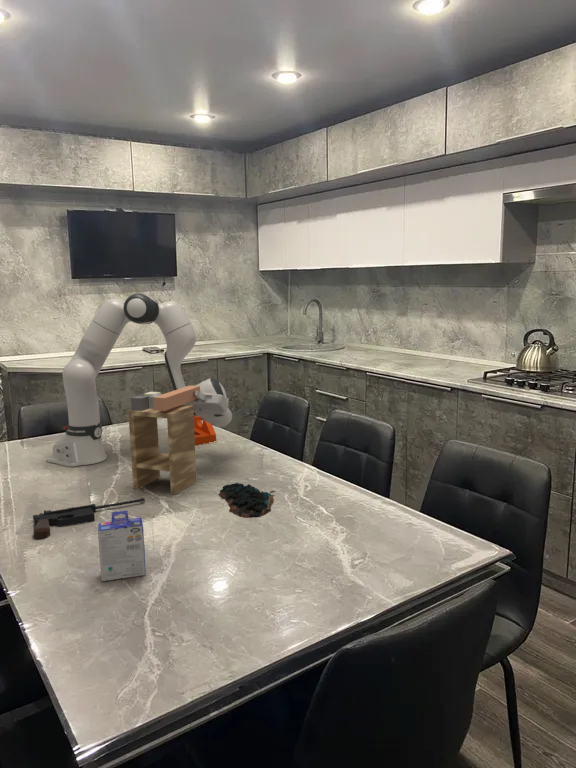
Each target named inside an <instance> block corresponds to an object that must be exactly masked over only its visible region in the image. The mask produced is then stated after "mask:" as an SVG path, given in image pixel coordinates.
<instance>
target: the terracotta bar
mask: <svg viewBox="0 0 576 768" xmlns="http://www.w3.org/2000/svg"><path fill="white" fill-rule="evenodd" d="M185 386H186V385H185ZM194 391H198V392H200V386H195V385H187V386H186V387H183V388H180V389H177V390H174V389H173V390H172V391H168V392H166V393H165V392H164V393H161V395H159V396H156V397H153V399H154V410H160V411H166V410H169V409H172V408H174V407H177V406H180V405H182V404H185V403H188V402H190V401H193V400H195V399H198V398H197V397H194V396H193V392H194Z"/></svg>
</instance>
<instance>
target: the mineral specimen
mask: <svg viewBox="0 0 576 768" xmlns="http://www.w3.org/2000/svg"><path fill="white" fill-rule="evenodd" d="M276 492H277V490H274V489H273V490H270V491H269V492H268V491H260V490H259V489H258V488H256V487H255V486H252V485H251V484H247V485H244V483H239V482H235V483H230V484H224V486H222V489H220V491H219V493H218V494H217V495H218V497H219V498H221V500H225V503H227V505H228V507H229V509H228V512H229V513H232V514H233V515H235V516H238V517H239V518H243V519H252V518H261V517H263V516H266V515H267V514H268V513H270V512H272V506H273V504H274V502H275V499H274V497H275V496H276V495H274V494H273V493H276Z"/></svg>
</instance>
